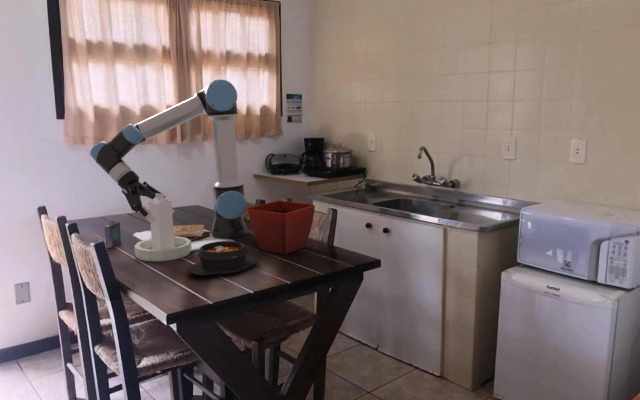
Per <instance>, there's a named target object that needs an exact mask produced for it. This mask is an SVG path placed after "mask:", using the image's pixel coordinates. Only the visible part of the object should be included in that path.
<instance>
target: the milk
mask: <svg viewBox="0 0 640 400" xmlns="http://www.w3.org/2000/svg"><path fill="white" fill-rule="evenodd" d="M164 195H165V194H164ZM164 195H163V193H162V194H158V193H155V198H154V199H151V200H150V201H149V202H148V205H149V206H148V207H149V208H148V210H149V211H150V212H151V213H152V214H153V215H154V216H155V217H156V218H157V219H156V220H155V221H154V223H153V224H151V223H150V222H149V224H150V234H151V235H150V236H151V237H150V238H152V250H162V249H170V248H175V247H174V235H175V233H174V218H173V214H172V208H173V204H172V203H173V202H172V201H170V200H168V199H166V197H165V198H164Z"/></svg>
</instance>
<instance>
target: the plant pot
mask: <svg viewBox="0 0 640 400" xmlns="http://www.w3.org/2000/svg"><path fill="white" fill-rule="evenodd" d="M246 208H247V213H248V217H249V222H250V225H251V229H252V231H253V235H254V236H255V240H256V242H257V245H258V246H259V249H260V250H261V251H267V252H270V253H274V254H275V253H276V254H281V255H287V254H290V253H292V252H295V251H298V250H301V249H303V248H305V247H306V245H307V242H308V239H309V236H310V233H311V229H312V225H313V220H314V217H315V216H314V215H315V209H316V205H315V204H309V203H304V202H303V203H302V202H295V201H294V202H293V201H288V200H276V201H270V202H266V203H262V204H258V205H254V206H250V207H246Z"/></svg>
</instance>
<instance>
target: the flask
mask: <svg viewBox="0 0 640 400" xmlns="http://www.w3.org/2000/svg"><path fill="white" fill-rule="evenodd" d="M108 221H109V222H108V224H106V225H105V226H104V233H105V244H106V245H105V247H107V249H111V248H114V247H117V245H120V244H122V240H121V239H122V237H121V223H120V221H119V220H118V221H117V220H115V221H114V219H108Z"/></svg>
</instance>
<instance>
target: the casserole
mask: <svg viewBox="0 0 640 400" xmlns="http://www.w3.org/2000/svg"><path fill="white" fill-rule="evenodd" d="M248 252H249V250H248V249H247V247H246V245H245V243H243V242H240V241H234V240H232V241H231V240H220V241H214V242H209V243H205V244H203V245H200V248H199V251H198V253H197V257H198V258H199V262H197V263H194V264H191V265H188V266H187V267H186V271H187V272H188V273H190V274H193V275H195V276H200V277H201V276H202V277H203V276H211V275H212V276H213V275H214V276H215V275H216V276H217V275H218V276H224V275H232V274H235V273H239V272H241V271H245V270H246V269H247V268H249V267H253V266H254V265H255V266H256V265H257V264H258V263H259V262H260V261H259V259H258V258H257V257H254V256H251V255H248Z"/></svg>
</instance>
